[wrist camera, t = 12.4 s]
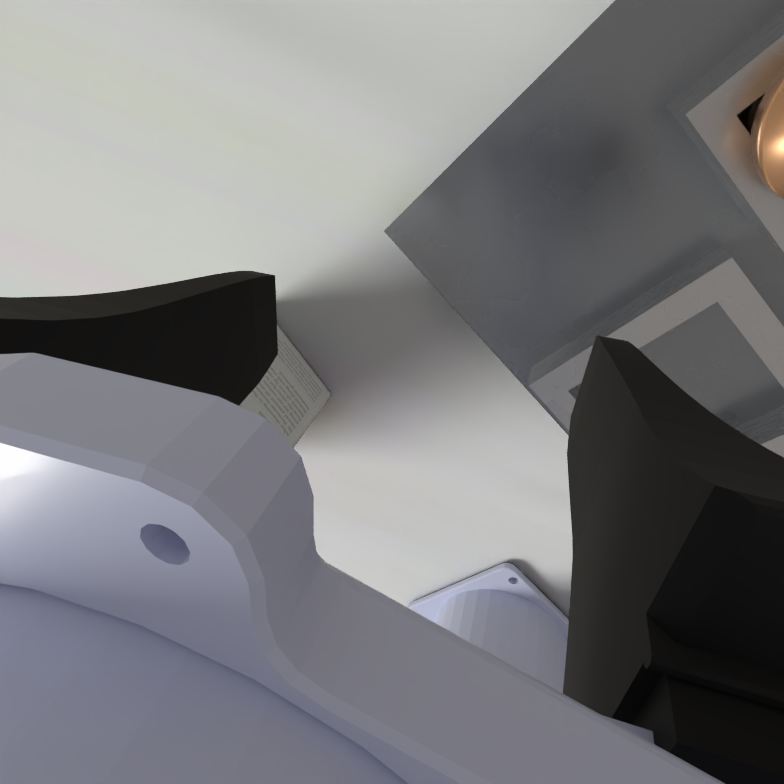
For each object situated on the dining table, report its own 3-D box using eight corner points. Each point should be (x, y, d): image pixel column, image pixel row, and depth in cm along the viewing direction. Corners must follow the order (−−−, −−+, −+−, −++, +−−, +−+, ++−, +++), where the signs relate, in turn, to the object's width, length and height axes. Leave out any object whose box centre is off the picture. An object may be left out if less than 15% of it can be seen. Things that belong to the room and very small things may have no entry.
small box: (233, 449, 30) (97, 603, 22) (165, 371, 29) (-11, 503, 20) (336, 394, 26) (222, 556, 18) (264, 300, 25) (99, 427, 16)
